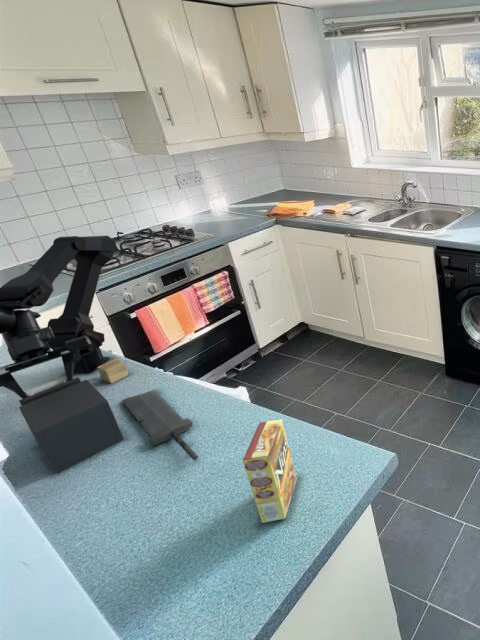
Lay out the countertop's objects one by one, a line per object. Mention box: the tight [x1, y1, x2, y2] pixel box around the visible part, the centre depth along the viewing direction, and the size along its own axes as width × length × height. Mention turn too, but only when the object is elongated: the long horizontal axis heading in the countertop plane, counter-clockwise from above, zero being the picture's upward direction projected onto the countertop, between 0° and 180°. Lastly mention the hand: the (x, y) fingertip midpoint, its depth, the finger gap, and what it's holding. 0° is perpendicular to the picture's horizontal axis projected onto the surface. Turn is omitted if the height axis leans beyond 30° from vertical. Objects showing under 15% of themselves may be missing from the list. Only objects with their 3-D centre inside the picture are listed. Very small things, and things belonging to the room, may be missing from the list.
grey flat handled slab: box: [121, 390, 199, 461], centre depth 96 cm, size 7×35×2 cm, turn 55°
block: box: [96, 358, 130, 384], centre depth 111 cm, size 4×4×4 cm
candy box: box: [242, 419, 298, 524], centre depth 77 cm, size 9×4×15 cm, turn 13°
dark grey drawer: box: [18, 375, 82, 406], centre depth 93 cm, size 16×9×9 cm, turn 57°
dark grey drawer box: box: [18, 379, 125, 474], centre depth 90 cm, size 13×11×11 cm
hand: (50, 393), depth 95 cm, fingers closed on dark grey drawer, 6 cm apart
